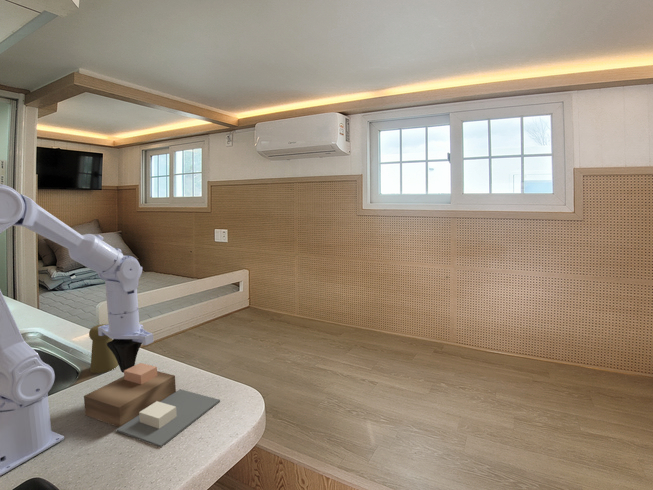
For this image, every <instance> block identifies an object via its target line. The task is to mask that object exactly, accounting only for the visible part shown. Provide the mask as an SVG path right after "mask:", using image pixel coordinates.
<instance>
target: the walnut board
mask: <svg viewBox="0 0 653 490" xmlns="http://www.w3.org/2000/svg"><path fill="white" fill-rule="evenodd" d="M176 386H177V385H176V375H174V374H172V373H171V374H170V373H167V372H163V371H158V370H157V376H156V377H154V378H152V379H150V380H148V381H147V382H145V383H143V384H138V383H135V382H131V381H127V380H124V375H123V376H122V377H120V378H118V379H115V380H113V381H112V382H110V383H108V384H105V385H103V386H101V387H100V388H97V389H95V390H94V391H93V390H92V391H91V392H89V393H87V394H85V395H83V401H84V414H85V416H86V417H90V418H92V419H95V420H98V421H101V422H103V423H106V424H109V425H112V426H115V427H117V428H119V427H121V426H122V425H124V424H126V423H127V422H129V421H130V420H132V419H134V418H135V417H137V416H138V415H139V412H140V411H142V410H144V409H145V408H147V407H148V406H150V405H152V404H153V403H155V402H156V401H158V402H160V401H162V400H164V399H165V398H167V397H168V396H170V395H172V394H173V393H175V392H176V391H177V390H176Z"/></svg>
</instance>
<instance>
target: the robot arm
mask: <svg viewBox="0 0 653 490" xmlns="http://www.w3.org/2000/svg"><path fill="white" fill-rule="evenodd" d="M12 226H13V227H23V228H25V229H27V230H30V231H32V232H34V233H36V234H38V235H40V236H42V237H43V238H46V239H47V240H50V241H51V242H53V243H54V244H55V243H56V244H58V245H59V246H61V247H64V248H65V249H67V251H68V255H69V256H68V257H69V258H70V259H71V260H73V261H75V262H77V263H79V264H80V265H83V266H84V267H85V268H88V269H89V270H91V271H93V272H95V273H97V276H98V277H99V279H100V280H104V283H105V293H106V305H107V306H106V307H107V309H106V310H107V321H108V323H107V324H109V325H103V326H100V327H98V335H99V336H103V335H107V336H108V337H109V338H112V341H110V342H108V343H107V346H108V348H109V349H110V350H111V351H112V352H113V354H114V356H115V358H116V360H117V362H118V367H119V369H120V371H121V373H123V374H124V370H126V369H129V368H131V367H133V366H135V365H136V360H137V355H138V353H139V350H140V348H141V346H148V345H150V344H152V343H154V333H152V332H149V331H148V330H146V329H144V325H143V324H140V314H139V313H140V312H139V311H140V310H139V300H138V299H139V298H138V287H140V286H139V285H140V284H139V280H140V278H141V277H142V273H143V266H141V265H140V262H139V260H138V259H137V258H136V257H134V256H132V255H124V253H123V251H122V249H120V248H119V247H114V246H112V245H110V244H108V243H107V242H105V240H104V236H102V235H100V234H93V233H85V234H81V233H79V232H78V231H76V230H75V229H74V228H72V227H70V226H69V225H68V224H66V223H65V222H63V221H62V220H60V219H59V218H58V217H56V216H55V215H53V214H51V213H50V212H48V211H47V210H46V209H45V208H43V207H42V206H40V205H39V204H38V203H36V202H35V201H34V200H33V199H32V198H31V197H28V196H27V195H26V194H25V195H24V194H23V193H22V194H20V193H19V192H18V191H17V190H15V189H14V188H13V187H11V186H8V185H6V184H1V183H0V234H1V233H4V231H7V229H9V228H10V227H12ZM103 240H104V241H103ZM1 290H2V289H0V477H1V476H3V475H4V474H6V473H8V472H10V471H11V470H13V469H15V468H17V467H18V466H20V465H21V464H23V463H25V462H27V461H29V460H30V459H32V458H34V457H35V456H38V455H40V453H42V452H44V451H46V450H47V449H50V448H51V447H53V446H55V445H57V444H58V443H60V442H62V441H63V440H64V439H65V436H64V435H62V434H60V433H57V432H55V431H53V430H52V425H51V424H52V423H51V414H50V404H49V394H48V393H49V391H50V390H51V389H52V388H53V385H54V382H55V379H56V375H55V370H54V368H53V367H52V366H50V364H48V363H45V362H44V361H43V360H42V359H41V357H40V355H39V353H38V352H37V351H35V349H34V348H33V347H32V346H30V345H29V344H28V343H27V342H26V341H25V339H24V338H23V335H22V333H21V330H20V329H19V326H18V324H17V322H16V320H15V318H14V316H13V313H12V312H11V310H10V307H9V305H8V303H7V301H6V299H5V297H4V294H3V292H2V291H1Z"/></svg>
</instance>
